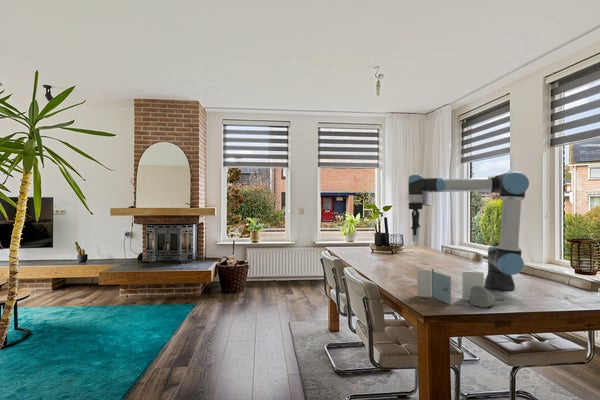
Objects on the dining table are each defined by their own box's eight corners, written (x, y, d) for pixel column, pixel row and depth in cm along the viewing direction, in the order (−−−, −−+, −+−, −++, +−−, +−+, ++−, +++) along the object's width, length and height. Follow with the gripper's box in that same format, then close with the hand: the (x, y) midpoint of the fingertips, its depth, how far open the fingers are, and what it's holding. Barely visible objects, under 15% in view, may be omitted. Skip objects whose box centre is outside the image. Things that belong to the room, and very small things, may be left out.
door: (430, 297, 177) (430, 271, 177) (434, 296, 177) (434, 271, 177) (445, 304, 165) (445, 276, 165) (450, 303, 165) (450, 276, 165)
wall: (483, 300, 172) (483, 271, 172) (483, 301, 171) (483, 271, 171) (417, 295, 181) (417, 267, 181) (417, 296, 180) (417, 268, 180)
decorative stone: (479, 310, 157) (493, 292, 156) (460, 295, 166) (473, 279, 165) (490, 318, 164) (503, 302, 163) (471, 304, 173) (483, 289, 173)
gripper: (410, 202, 209) (410, 237, 209) (406, 202, 186) (406, 242, 186) (423, 202, 207) (423, 237, 207) (421, 202, 183) (421, 242, 183)
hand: (415, 239), depth 196 cm, fingers open, 13 cm apart
